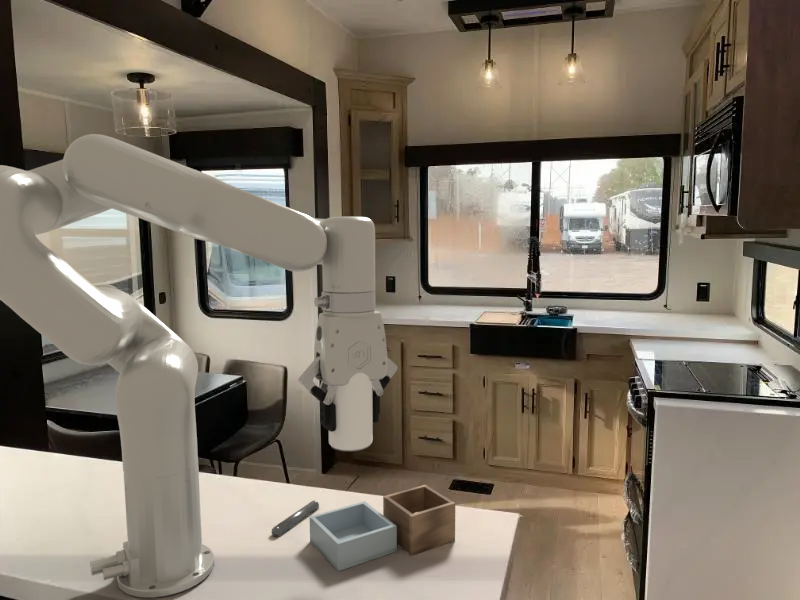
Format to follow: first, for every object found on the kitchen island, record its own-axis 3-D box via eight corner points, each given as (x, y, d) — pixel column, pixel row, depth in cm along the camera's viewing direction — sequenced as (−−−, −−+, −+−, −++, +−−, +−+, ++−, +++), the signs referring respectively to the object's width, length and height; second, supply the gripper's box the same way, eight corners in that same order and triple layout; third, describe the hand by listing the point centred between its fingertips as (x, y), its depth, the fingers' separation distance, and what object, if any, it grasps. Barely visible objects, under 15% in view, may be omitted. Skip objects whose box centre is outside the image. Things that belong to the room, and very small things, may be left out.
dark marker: (277, 539, 94) (277, 530, 93) (269, 537, 94) (269, 527, 94) (320, 508, 104) (320, 500, 104) (313, 507, 104) (313, 498, 104)
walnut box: (411, 555, 88) (411, 516, 88) (383, 532, 95) (383, 496, 94) (455, 540, 93) (455, 503, 92) (425, 519, 99) (425, 484, 99)
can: (352, 455, 85) (351, 371, 83) (319, 445, 89) (318, 365, 87) (381, 442, 90) (381, 363, 88) (349, 433, 94) (348, 357, 92)
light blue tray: (338, 571, 84) (338, 544, 84) (310, 541, 93) (309, 516, 92) (396, 551, 90) (396, 525, 89) (364, 524, 98) (364, 501, 97)
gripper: (303, 310, 79) (306, 443, 81) (414, 302, 88) (413, 421, 90) (282, 304, 85) (285, 428, 87) (387, 297, 95) (387, 408, 97)
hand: (350, 423), depth 89 cm, fingers closed on can, 6 cm apart
